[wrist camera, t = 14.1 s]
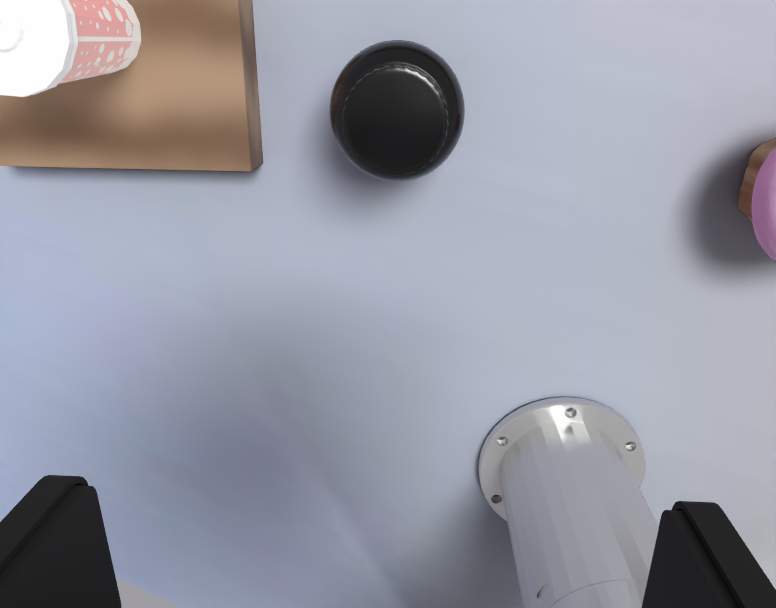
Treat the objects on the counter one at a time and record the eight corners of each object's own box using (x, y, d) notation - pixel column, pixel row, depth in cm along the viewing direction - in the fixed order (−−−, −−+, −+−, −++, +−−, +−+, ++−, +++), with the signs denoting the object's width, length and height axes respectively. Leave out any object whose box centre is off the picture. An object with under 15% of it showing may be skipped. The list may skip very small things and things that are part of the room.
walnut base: (263, 163, 39) (251, 171, 37) (26, 158, 40) (-3, 165, 37) (243, -129, 33) (227, -146, 30) (-36, -129, 34) (-77, -146, 31)
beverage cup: (50, -47, 33) (-193, -112, 20) (161, -14, 33) (-7, -55, 20) (45, 69, 35) (-176, 79, 22) (148, 99, 35) (-10, 127, 22)
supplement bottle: (344, 152, 39) (313, 191, 28) (349, 37, 36) (317, 30, 25) (449, 160, 39) (460, 203, 28) (462, 46, 36) (480, 43, 25)
